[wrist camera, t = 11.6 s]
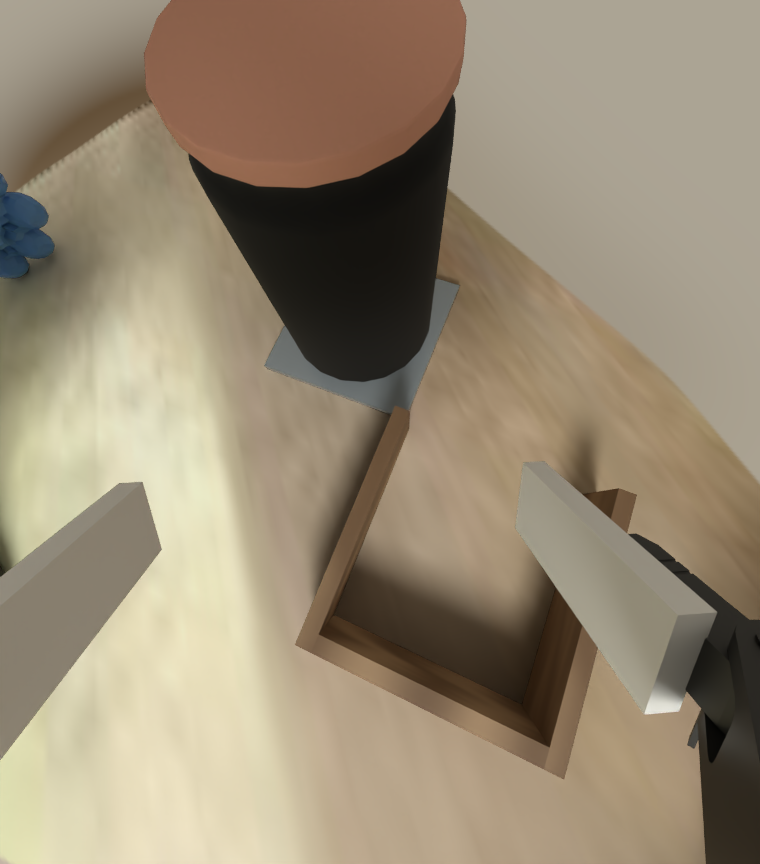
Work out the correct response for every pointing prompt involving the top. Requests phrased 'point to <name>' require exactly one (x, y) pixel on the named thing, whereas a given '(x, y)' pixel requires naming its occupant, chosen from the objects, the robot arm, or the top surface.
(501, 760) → the top surface
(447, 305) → the plate
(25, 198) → the grapes
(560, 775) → the holder
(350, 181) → the coffee jar
